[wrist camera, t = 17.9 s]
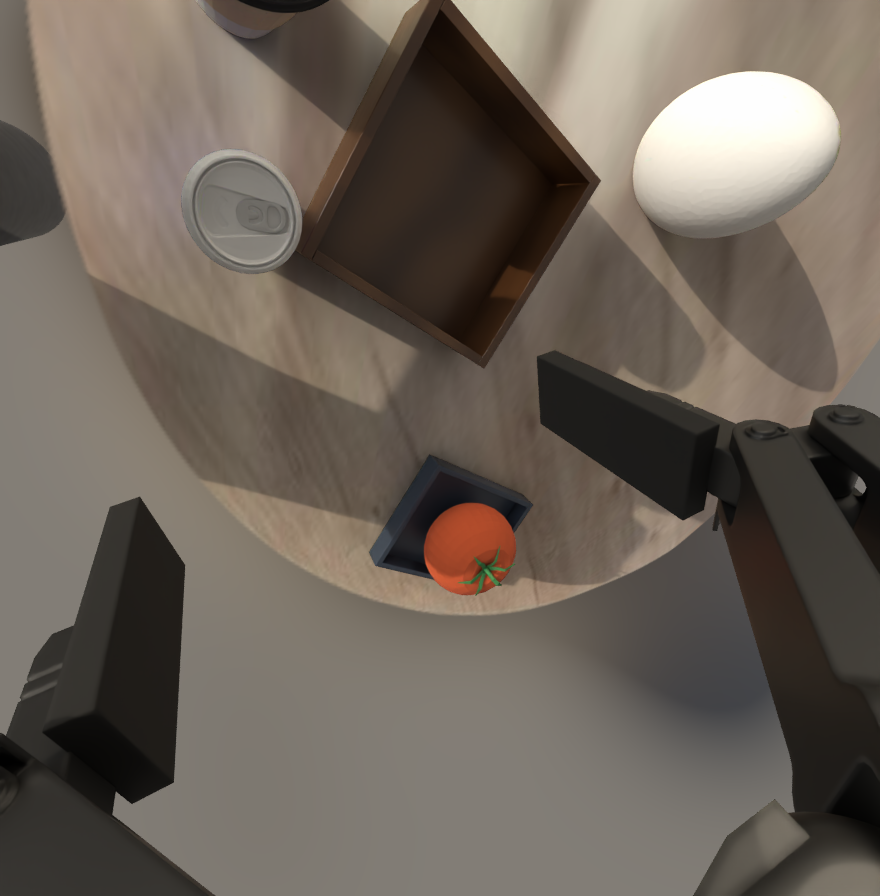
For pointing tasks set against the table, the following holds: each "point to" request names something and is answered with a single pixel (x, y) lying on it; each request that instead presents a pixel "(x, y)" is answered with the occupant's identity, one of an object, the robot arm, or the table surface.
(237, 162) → the beverage can
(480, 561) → the tomato
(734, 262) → the table surface
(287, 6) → the coffee cup
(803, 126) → the decorative egg
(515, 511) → the tray
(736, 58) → the table surface
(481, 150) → the open wooden box
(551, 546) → the table surface
